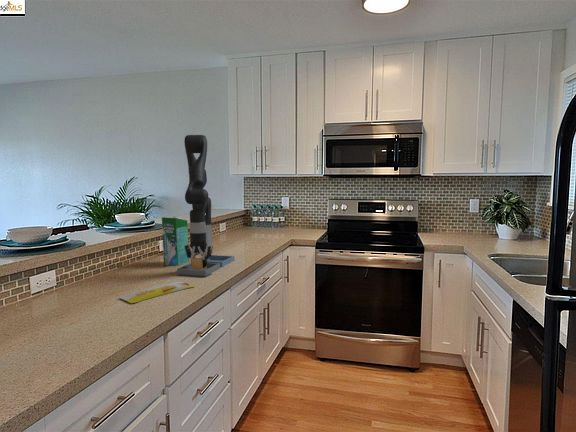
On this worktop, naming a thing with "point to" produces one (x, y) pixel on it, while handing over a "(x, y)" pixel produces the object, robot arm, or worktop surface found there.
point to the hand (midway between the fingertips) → (199, 266)
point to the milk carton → (174, 241)
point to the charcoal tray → (204, 272)
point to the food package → (155, 292)
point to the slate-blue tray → (220, 259)
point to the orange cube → (197, 263)
